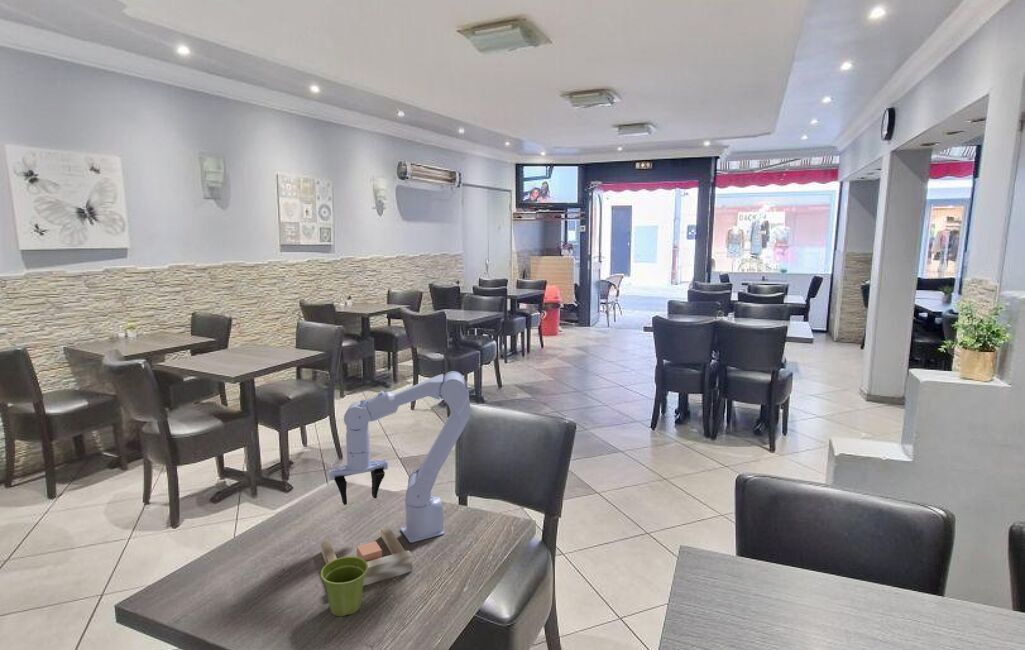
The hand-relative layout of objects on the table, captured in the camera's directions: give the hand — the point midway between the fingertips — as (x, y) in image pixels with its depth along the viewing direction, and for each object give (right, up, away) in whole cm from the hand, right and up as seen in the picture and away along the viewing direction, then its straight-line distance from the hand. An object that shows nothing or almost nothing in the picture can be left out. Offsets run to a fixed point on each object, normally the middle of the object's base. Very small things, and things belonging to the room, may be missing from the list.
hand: (359, 499), depth 140 cm
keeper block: (+6, -12, -13) cm, 19 cm away
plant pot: (+5, -14, -27) cm, 31 cm away
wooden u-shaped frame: (+4, -11, -10) cm, 16 cm away
